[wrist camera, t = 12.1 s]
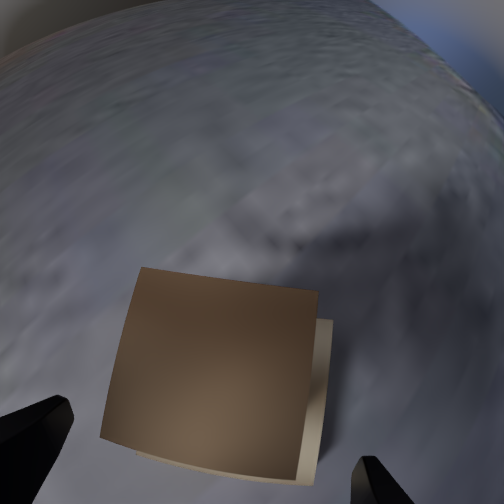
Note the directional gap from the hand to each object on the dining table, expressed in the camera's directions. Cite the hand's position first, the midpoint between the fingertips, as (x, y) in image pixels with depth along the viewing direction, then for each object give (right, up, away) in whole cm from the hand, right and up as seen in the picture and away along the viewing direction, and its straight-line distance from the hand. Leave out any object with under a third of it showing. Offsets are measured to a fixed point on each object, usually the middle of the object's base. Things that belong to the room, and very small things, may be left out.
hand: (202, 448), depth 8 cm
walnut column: (0, -2, +9) cm, 9 cm away
